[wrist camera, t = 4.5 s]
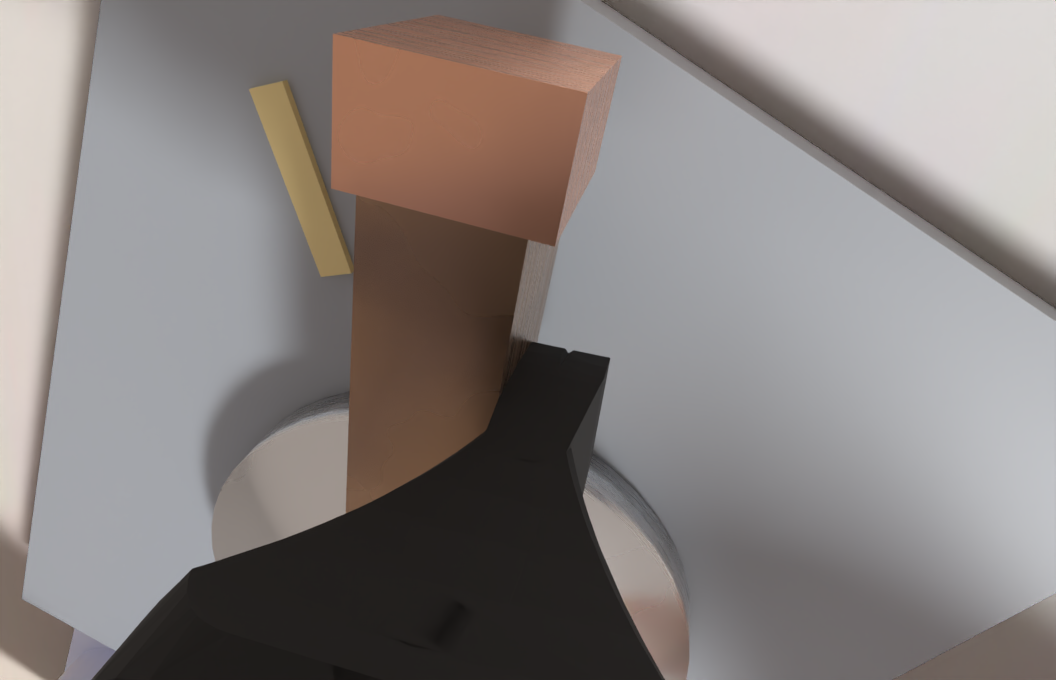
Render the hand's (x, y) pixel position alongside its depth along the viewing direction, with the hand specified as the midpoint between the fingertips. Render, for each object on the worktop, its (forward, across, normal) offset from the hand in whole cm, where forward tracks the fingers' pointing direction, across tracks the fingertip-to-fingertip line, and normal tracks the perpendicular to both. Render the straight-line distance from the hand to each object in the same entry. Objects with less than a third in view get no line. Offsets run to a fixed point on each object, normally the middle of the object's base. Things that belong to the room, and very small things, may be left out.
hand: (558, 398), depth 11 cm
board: (+3, +3, +8) cm, 9 cm away
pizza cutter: (+2, +2, +4) cm, 5 cm away
